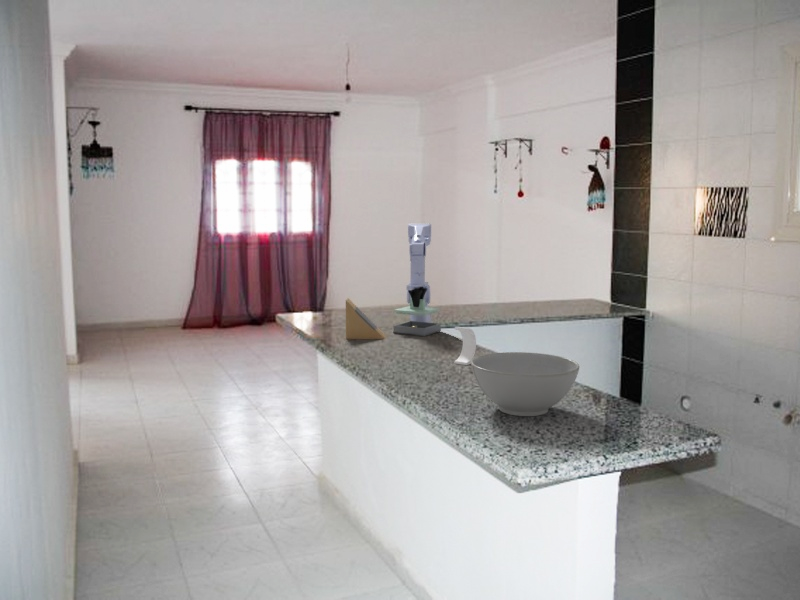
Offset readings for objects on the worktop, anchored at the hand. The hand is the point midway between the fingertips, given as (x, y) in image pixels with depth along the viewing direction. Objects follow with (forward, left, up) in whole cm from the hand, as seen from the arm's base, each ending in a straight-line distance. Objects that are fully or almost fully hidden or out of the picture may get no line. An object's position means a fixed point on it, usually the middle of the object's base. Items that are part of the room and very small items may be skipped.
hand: (417, 306), depth 300 cm
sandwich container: (+20, -12, -11) cm, 25 cm away
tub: (0, 0, -10) cm, 10 cm away
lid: (0, 0, -2) cm, 2 cm away
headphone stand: (+43, +41, -10) cm, 60 cm away
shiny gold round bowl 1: (-3, -3, -10) cm, 11 cm away
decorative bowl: (+86, +77, -11) cm, 116 cm away
